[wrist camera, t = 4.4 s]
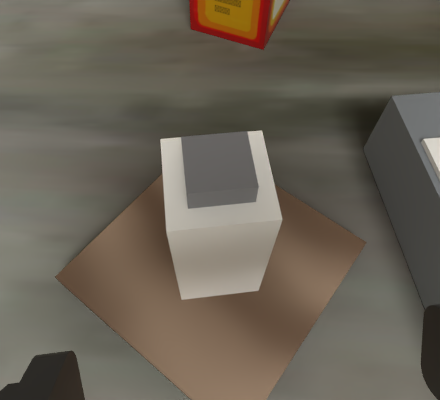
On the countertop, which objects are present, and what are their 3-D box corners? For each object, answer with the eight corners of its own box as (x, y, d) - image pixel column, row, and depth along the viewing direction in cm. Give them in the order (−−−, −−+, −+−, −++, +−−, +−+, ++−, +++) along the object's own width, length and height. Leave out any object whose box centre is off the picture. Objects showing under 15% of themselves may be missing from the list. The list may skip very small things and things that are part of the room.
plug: (176, 230, 22) (157, 121, 14) (246, 222, 22) (264, 113, 15) (181, 299, 20) (163, 217, 12) (258, 290, 20) (287, 205, 13)
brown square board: (200, 151, 27) (199, 137, 26) (357, 252, 23) (366, 242, 22) (64, 286, 22) (54, 276, 21) (237, 440, 18) (239, 441, 17)
